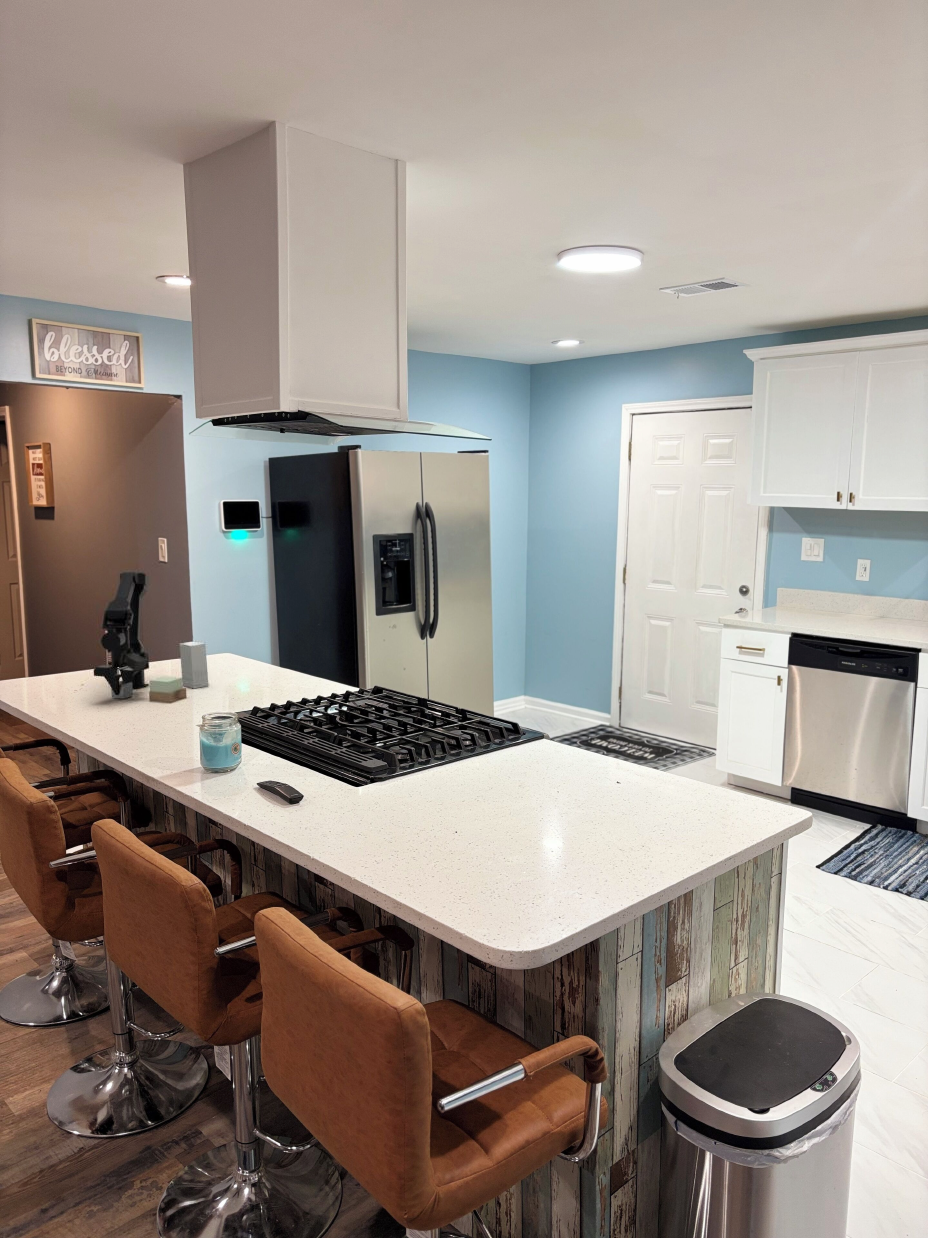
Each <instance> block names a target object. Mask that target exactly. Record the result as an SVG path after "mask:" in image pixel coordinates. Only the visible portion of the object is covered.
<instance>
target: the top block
mask: <svg viewBox="0 0 928 1238" xmlns="http://www.w3.org/2000/svg"><path fill="white" fill-rule="evenodd" d="M182 688H184V687H183V683H182V677H177V676H168V675H167V676H166V675H163V676H159V677H156V678H152V679H150V680H149V691H153V692H164V693H170V692H173V691H176V690H179V689H182Z"/></svg>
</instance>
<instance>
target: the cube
mask: <svg viewBox="0 0 928 1238" xmlns="http://www.w3.org/2000/svg"><path fill="white" fill-rule="evenodd" d="M110 688H111V687H110ZM110 692H111V699H122V700H123V699H126V698H131V697H133V696H134V693H133V692H134V691H133V687H132V682H126V681H122V680H119V695H115V694H114V692H113V690H112V688H111V689H110Z"/></svg>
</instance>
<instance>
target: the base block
mask: <svg viewBox="0 0 928 1238" xmlns="http://www.w3.org/2000/svg"><path fill="white" fill-rule="evenodd" d="M148 698H149V699H148V700H149V702H151V703H152V702H153V703H154V702H155V703H163V704H164V703H165V704H173V703H176V702H178V701H182V700H185V699H187V688H186V687H183V688H182V689H179V690H176V691H173V692H170V693H164V692H153V691H150V690H149V691H148Z"/></svg>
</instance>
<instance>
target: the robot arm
mask: <svg viewBox="0 0 928 1238" xmlns="http://www.w3.org/2000/svg"><path fill="white" fill-rule="evenodd" d="M149 584H150V576H149V575H148V574H146V572H145V571H122V572H121V573H119V584H118V588H117V591H116V594H115V598H114V599H113V600H111V601H110V602H109V603H108V605H107V606H106V609H105V610H104V614H103V621H102V626H101V627H102V629H103V630H106V633H104V634H103V635H102V637H101V639H100V643H101V646H102V648H104V649H105V650H106V652H107V653H110V661H108V662H107V665H106V664H102V665H98V666H95V667H94V669H93V676H94V677H103V678H104V679H105V681H106V682H107V683H108V685H109V686H110V688H112V690H113V692H114V694H115V695H119V681H120V679H121V681H126V682H132V687H133V689H134V690H138V689H140V688H144V687H147V686H150V683H146V681H145V670H148V669H150V662H149V661H150V659H149V653H147V652H146V651H145V650H146V649H145V647H144V645H143V643H142V642H141V623H142V621H141V620H142V599H143V597H145V595H146V593H147V592H148V586H150V585H149Z"/></svg>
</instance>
